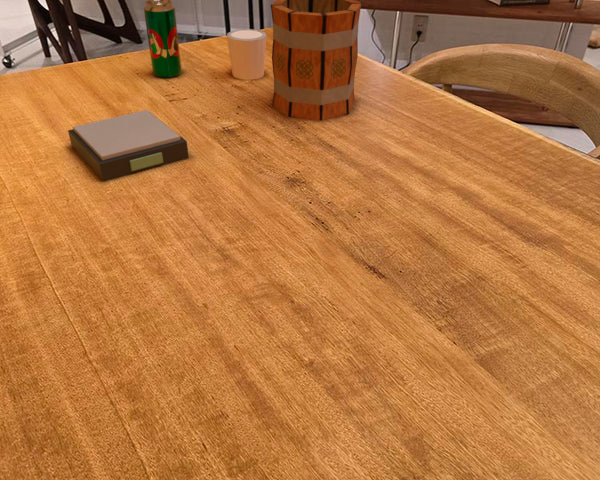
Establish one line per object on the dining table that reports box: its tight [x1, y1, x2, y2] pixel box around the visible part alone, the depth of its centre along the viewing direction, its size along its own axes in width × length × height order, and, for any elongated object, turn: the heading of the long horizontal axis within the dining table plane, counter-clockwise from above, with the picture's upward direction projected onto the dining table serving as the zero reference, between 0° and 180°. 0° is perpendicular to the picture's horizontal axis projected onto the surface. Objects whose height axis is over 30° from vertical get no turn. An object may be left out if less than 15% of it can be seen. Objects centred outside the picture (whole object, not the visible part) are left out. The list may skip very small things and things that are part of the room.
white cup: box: [226, 28, 267, 81], centre depth 104 cm, size 7×7×7 cm
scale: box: [67, 109, 189, 182], centre depth 80 cm, size 12×12×3 cm
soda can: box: [143, 0, 182, 79], centre depth 102 cm, size 5×5×12 cm
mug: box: [270, 0, 362, 122], centre depth 93 cm, size 20×14×15 cm
